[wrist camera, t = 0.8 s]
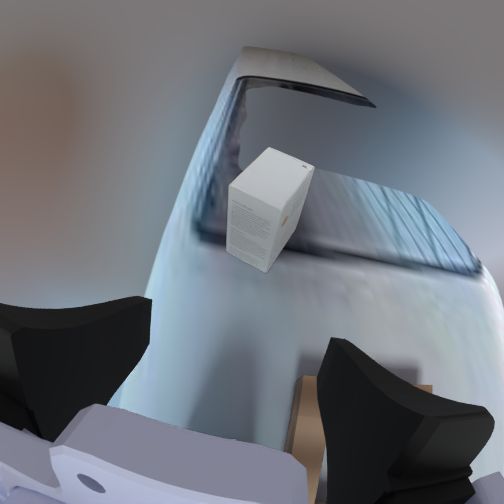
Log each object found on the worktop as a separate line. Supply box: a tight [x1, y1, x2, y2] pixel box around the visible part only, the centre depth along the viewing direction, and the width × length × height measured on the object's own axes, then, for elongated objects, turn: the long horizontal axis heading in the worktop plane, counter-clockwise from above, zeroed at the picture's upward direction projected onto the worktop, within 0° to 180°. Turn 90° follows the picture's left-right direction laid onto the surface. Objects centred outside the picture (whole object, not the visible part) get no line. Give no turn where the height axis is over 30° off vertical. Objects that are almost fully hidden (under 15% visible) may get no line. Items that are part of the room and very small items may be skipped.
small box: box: [226, 147, 315, 273], centre depth 32 cm, size 8×6×10 cm
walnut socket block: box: [284, 375, 432, 504], centre depth 20 cm, size 16×14×3 cm
